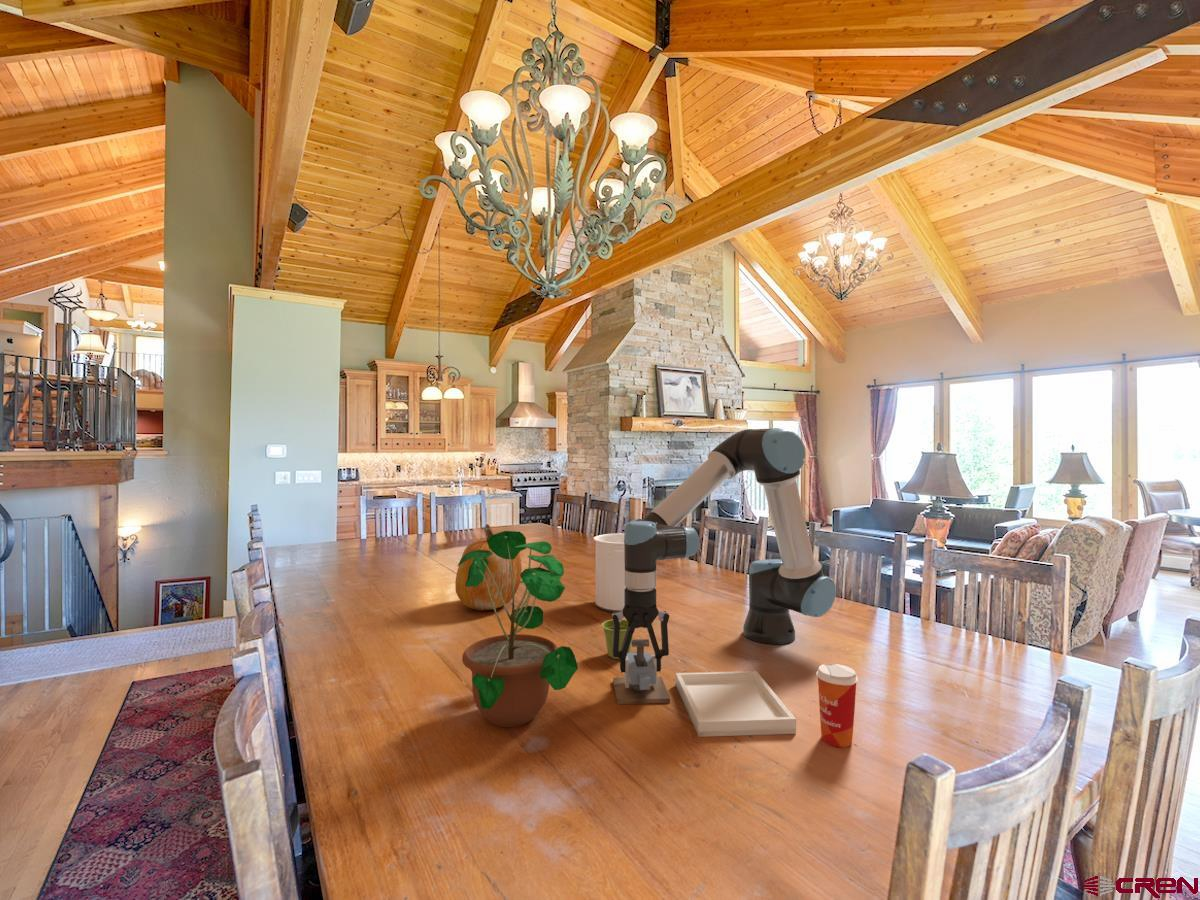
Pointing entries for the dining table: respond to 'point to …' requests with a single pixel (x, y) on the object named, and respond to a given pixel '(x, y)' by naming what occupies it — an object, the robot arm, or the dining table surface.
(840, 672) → the paper cup
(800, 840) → the dining table surface
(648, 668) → the grey slotted block
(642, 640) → the lever on base
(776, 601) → the robot arm
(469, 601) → the pumpkin
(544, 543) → the potted plant
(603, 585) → the bucket
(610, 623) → the plant pot
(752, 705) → the tray
